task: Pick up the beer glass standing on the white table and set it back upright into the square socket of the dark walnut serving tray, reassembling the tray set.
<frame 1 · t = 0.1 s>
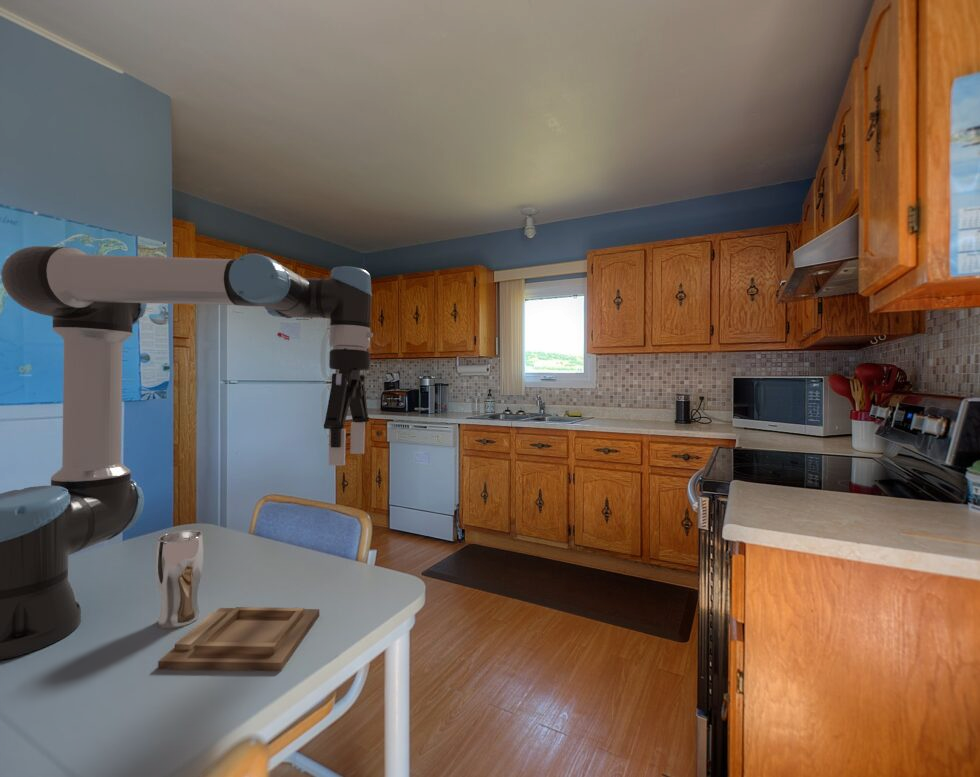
hand: (347, 459, 89), 28 cm above the table, fingers open, 13 cm apart
beer glass: (179, 620, 81), on the table
tray: (247, 639, 76), on the table
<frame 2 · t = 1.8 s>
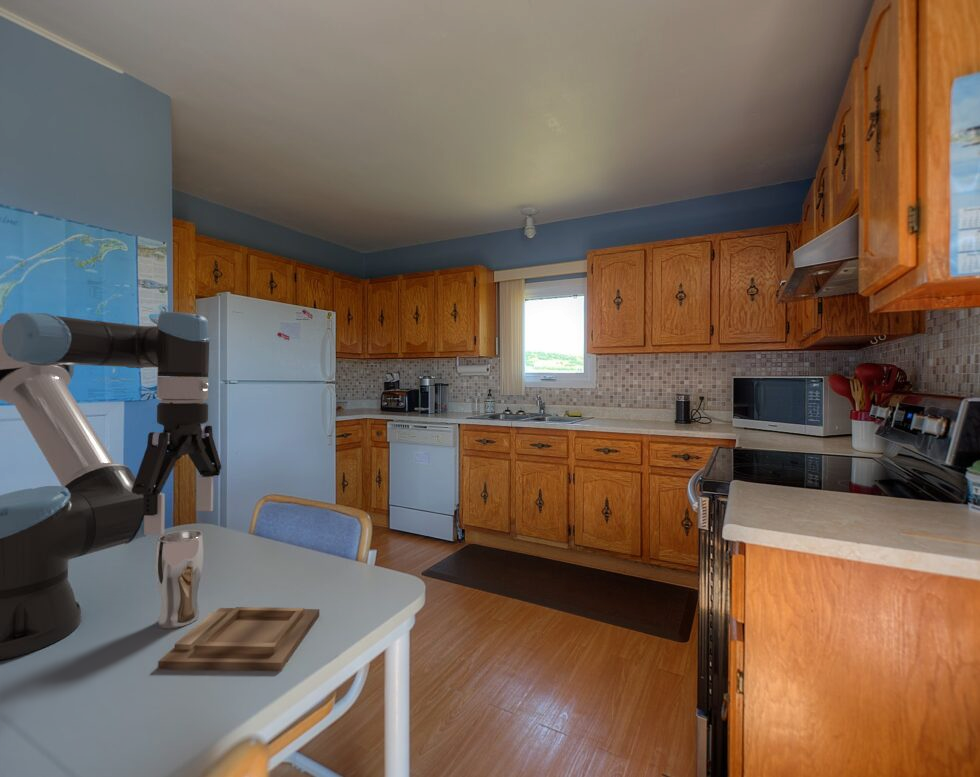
hand: (181, 521, 81), 18 cm above the table, fingers open, 13 cm apart
nothing on the table moved.
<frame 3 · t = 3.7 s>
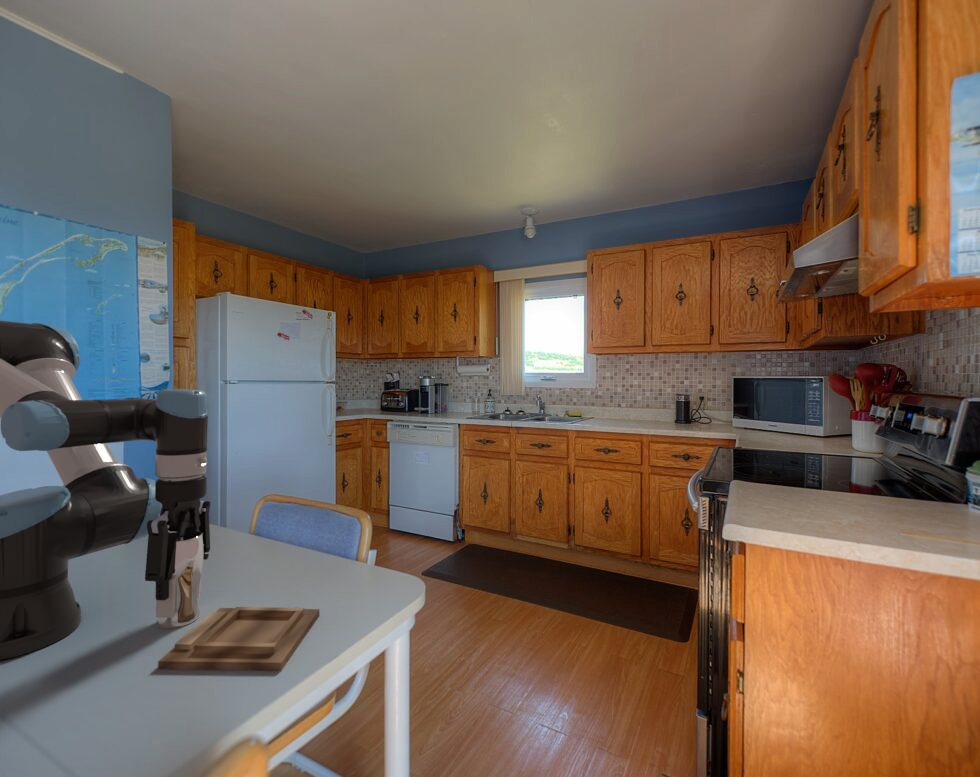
hand: (179, 605, 81), 2 cm above the table, fingers closed on beer glass, 6 cm apart
beer glass: (179, 620, 81), on the table, touching gripper
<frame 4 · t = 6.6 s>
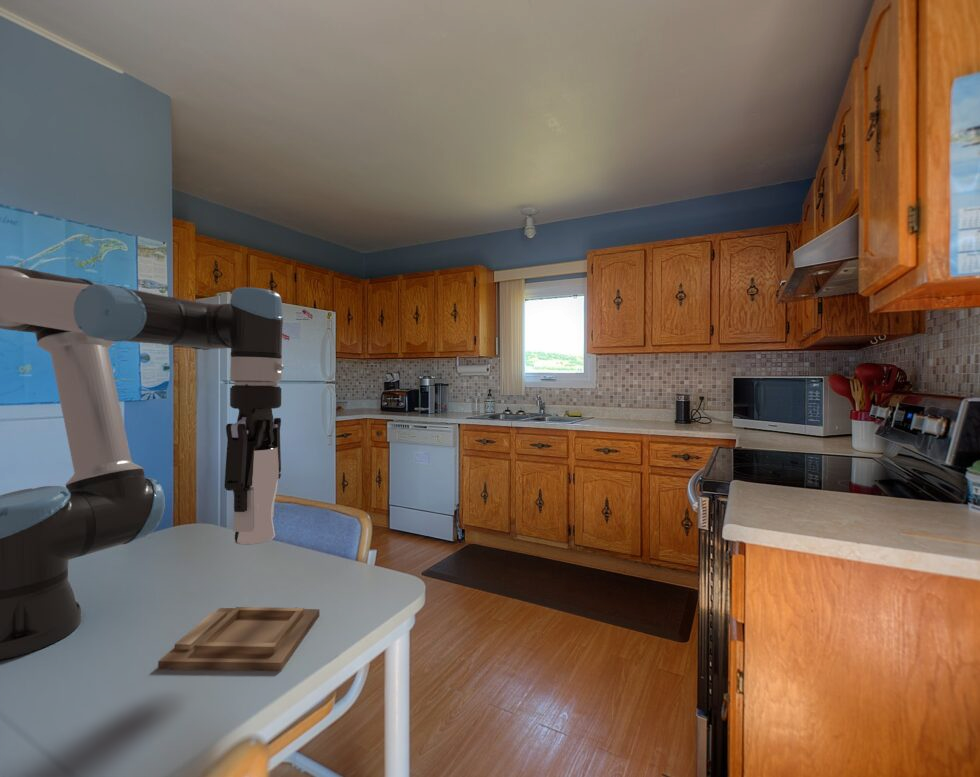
hand: (254, 523, 75), 19 cm above the table, fingers closed on beer glass, 6 cm apart
beer glass: (254, 539, 75), point 17 cm above the table, touching gripper
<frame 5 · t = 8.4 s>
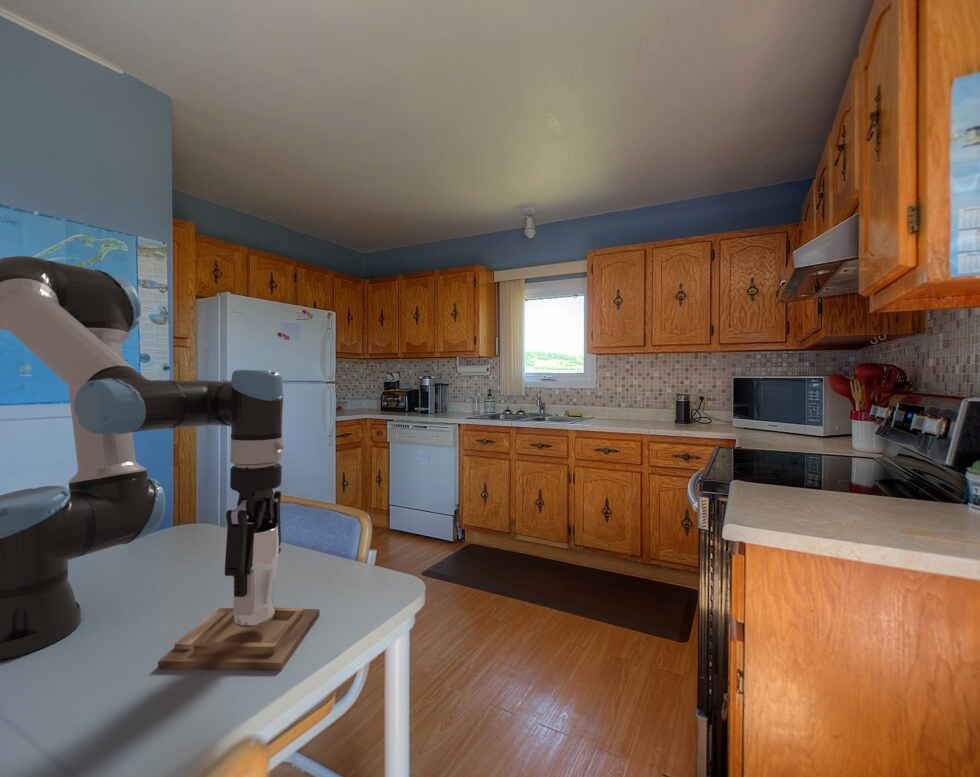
hand: (254, 602, 76), 6 cm above the table, fingers closed on beer glass, 6 cm apart
beer glass: (254, 619, 76), point 3 cm above the table, touching gripper
when the fingers open (4 cm above the table, at t = 9.8 s): beer glass stays where it is, resting on tray.
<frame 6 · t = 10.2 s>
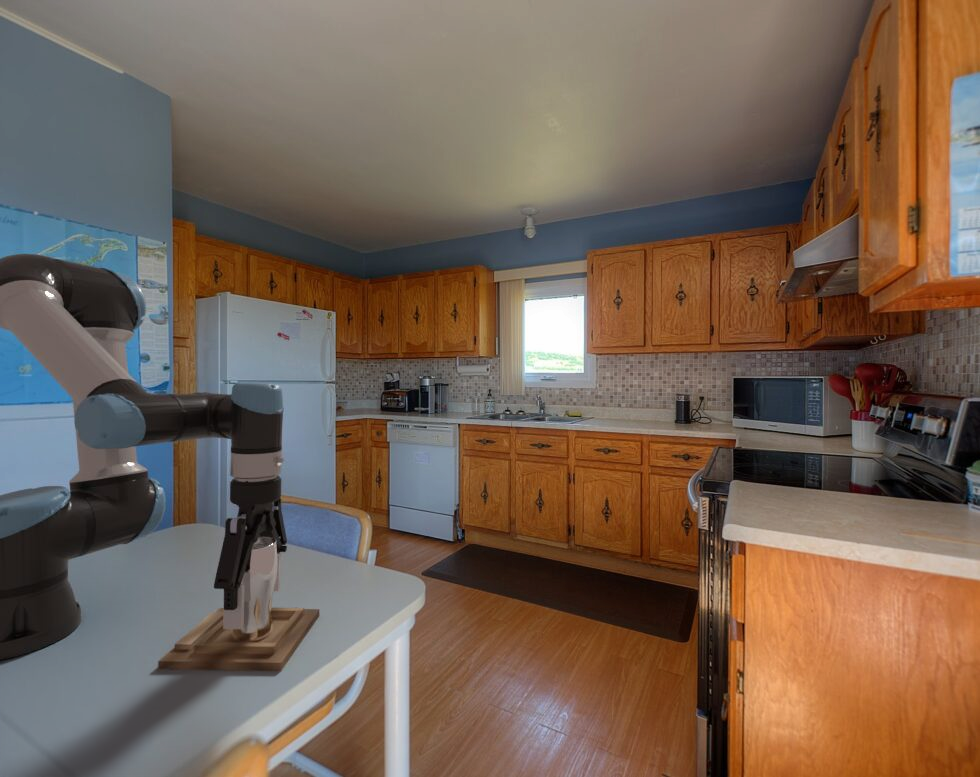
hand: (254, 607, 76), 5 cm above the table, fingers open, 12 cm apart
beer glass: (252, 634, 75), point 1 cm above the table, touching tray
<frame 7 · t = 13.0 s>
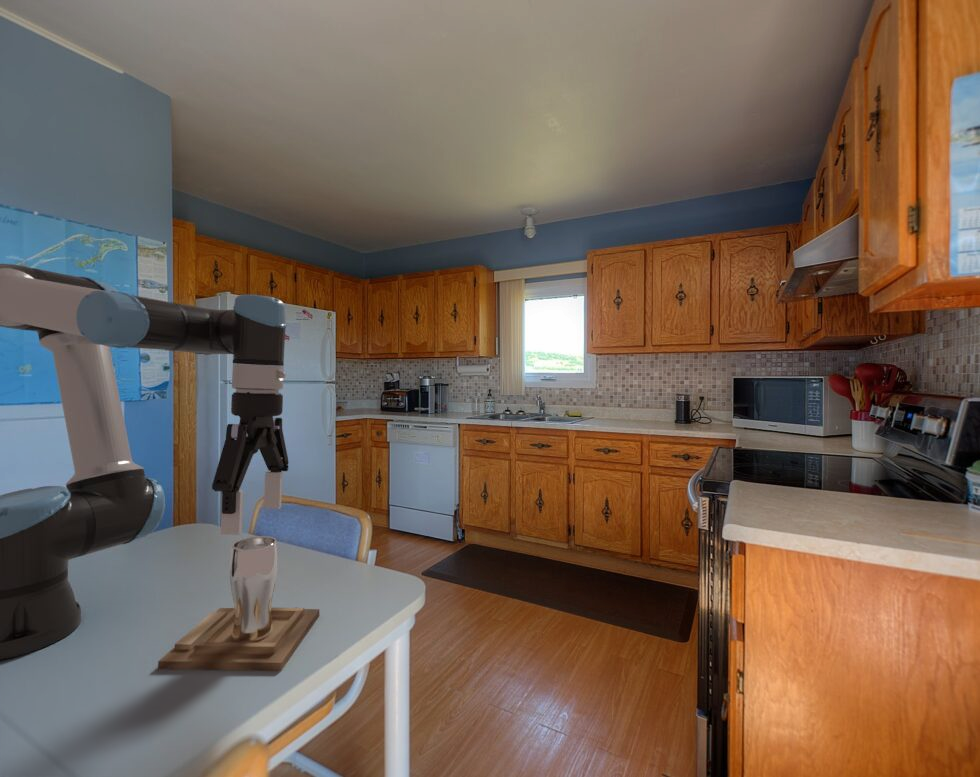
hand: (253, 520, 76), 20 cm above the table, fingers open, 13 cm apart
nothing on the table moved.
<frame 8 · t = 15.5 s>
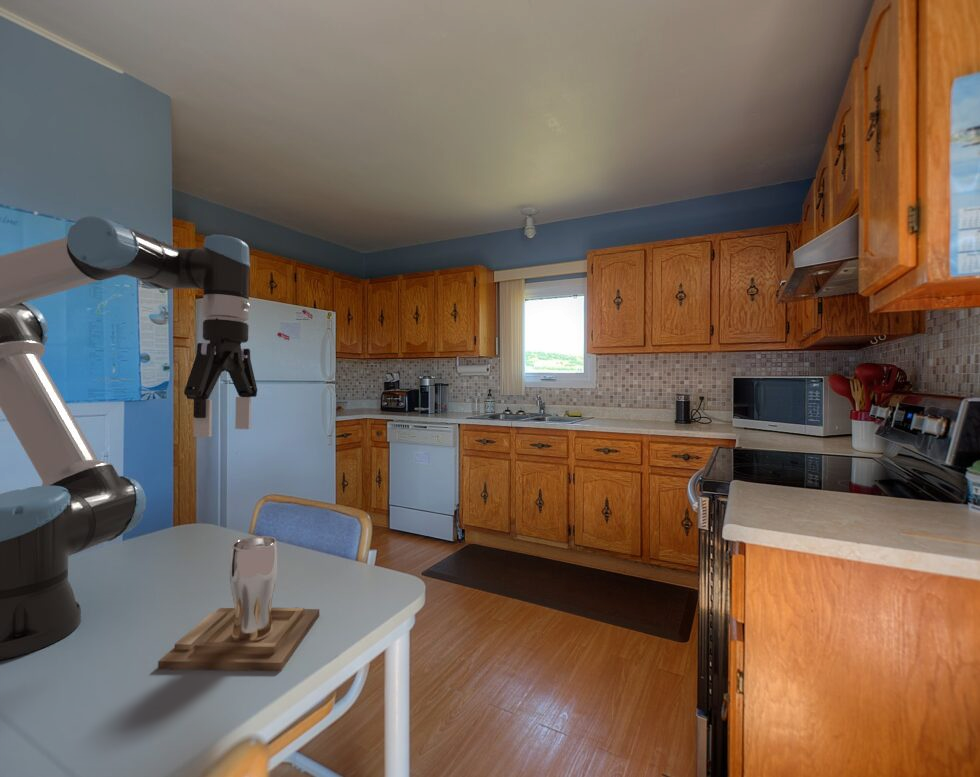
hand: (224, 432, 87), 33 cm above the table, fingers open, 13 cm apart
nothing on the table moved.
at the end: beer glass 0.2 cm from the target spot on the tray, point 1.0 cm above the tray's base; beer glass tilted 0°; the gripper is holding nothing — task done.
